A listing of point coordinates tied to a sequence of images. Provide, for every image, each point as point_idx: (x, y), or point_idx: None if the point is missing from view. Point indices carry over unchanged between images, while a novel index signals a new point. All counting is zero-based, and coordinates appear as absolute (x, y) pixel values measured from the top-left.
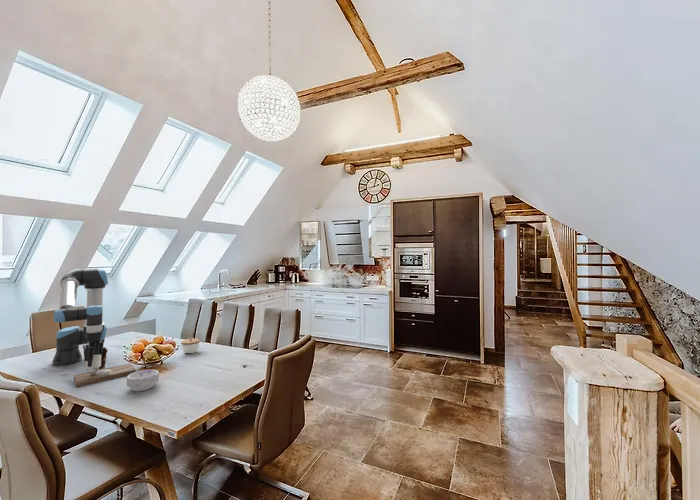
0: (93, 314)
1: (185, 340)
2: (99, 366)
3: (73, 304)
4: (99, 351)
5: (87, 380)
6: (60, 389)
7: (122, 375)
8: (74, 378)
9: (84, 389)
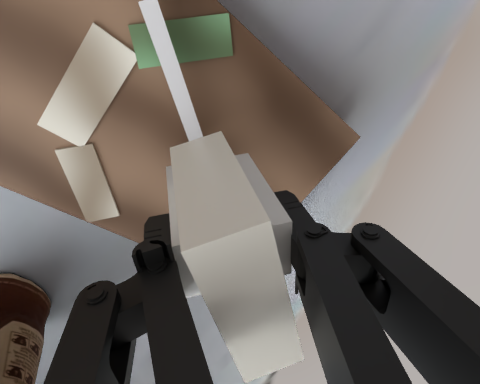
0: None
1: None
2: (203, 139)
3: None
4: (156, 365)
5: (317, 97)
6: (365, 189)
7: None
8: None
9: (387, 24)
